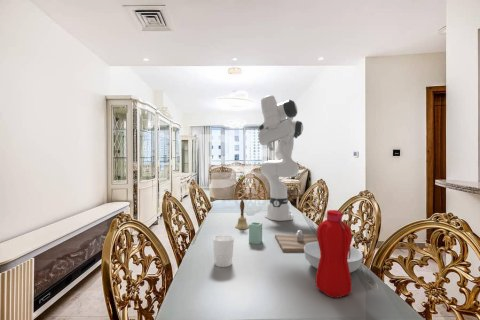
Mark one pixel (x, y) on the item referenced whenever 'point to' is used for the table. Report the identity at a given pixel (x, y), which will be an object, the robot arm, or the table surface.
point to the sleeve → (255, 233)
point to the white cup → (223, 250)
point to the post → (299, 236)
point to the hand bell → (242, 218)
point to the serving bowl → (314, 256)
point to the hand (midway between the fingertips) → (279, 147)
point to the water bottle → (334, 255)
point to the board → (294, 242)
